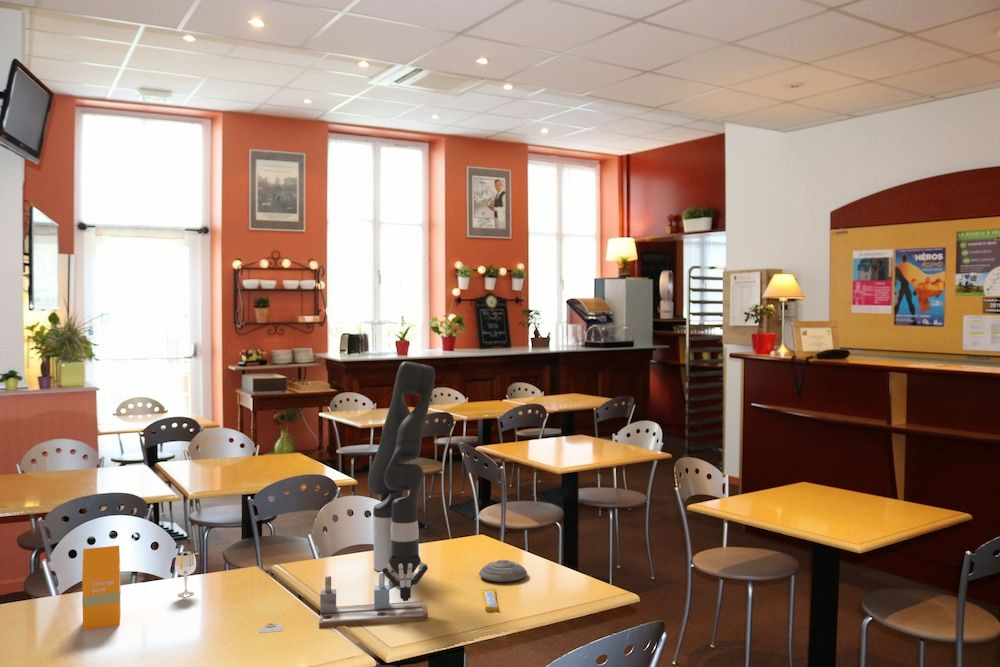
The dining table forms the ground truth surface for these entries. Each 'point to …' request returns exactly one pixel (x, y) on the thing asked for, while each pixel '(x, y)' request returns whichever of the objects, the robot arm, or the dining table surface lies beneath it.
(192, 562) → the wineglass
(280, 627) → the mounting bracket
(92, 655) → the dining table surface
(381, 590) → the pointer block
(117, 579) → the orange juice
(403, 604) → the board
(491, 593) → the candy bar
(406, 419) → the robot arm
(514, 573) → the flying saucer
